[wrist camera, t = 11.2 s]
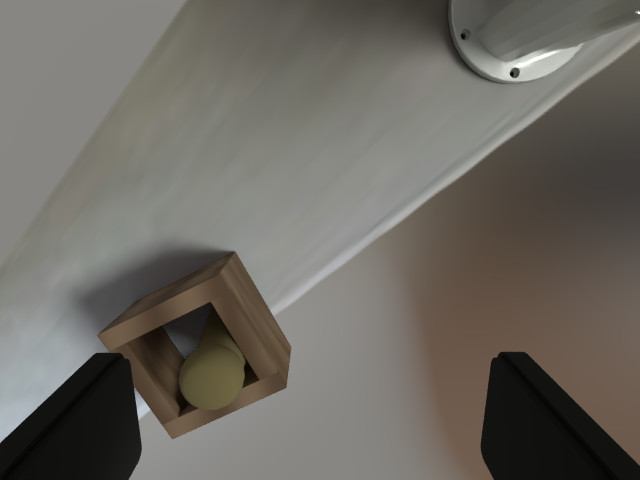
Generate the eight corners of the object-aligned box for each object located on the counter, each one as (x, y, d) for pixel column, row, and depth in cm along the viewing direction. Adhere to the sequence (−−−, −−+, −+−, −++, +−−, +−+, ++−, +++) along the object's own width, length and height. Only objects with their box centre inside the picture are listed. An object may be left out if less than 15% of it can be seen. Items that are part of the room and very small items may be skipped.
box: (235, 251, 38) (217, 275, 31) (291, 347, 41) (286, 387, 34) (134, 302, 39) (97, 335, 33) (195, 391, 42) (172, 439, 35)
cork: (270, 343, 41) (254, 414, 30) (217, 355, 41) (182, 430, 30) (255, 292, 39) (232, 347, 29) (199, 305, 40) (156, 365, 29)
